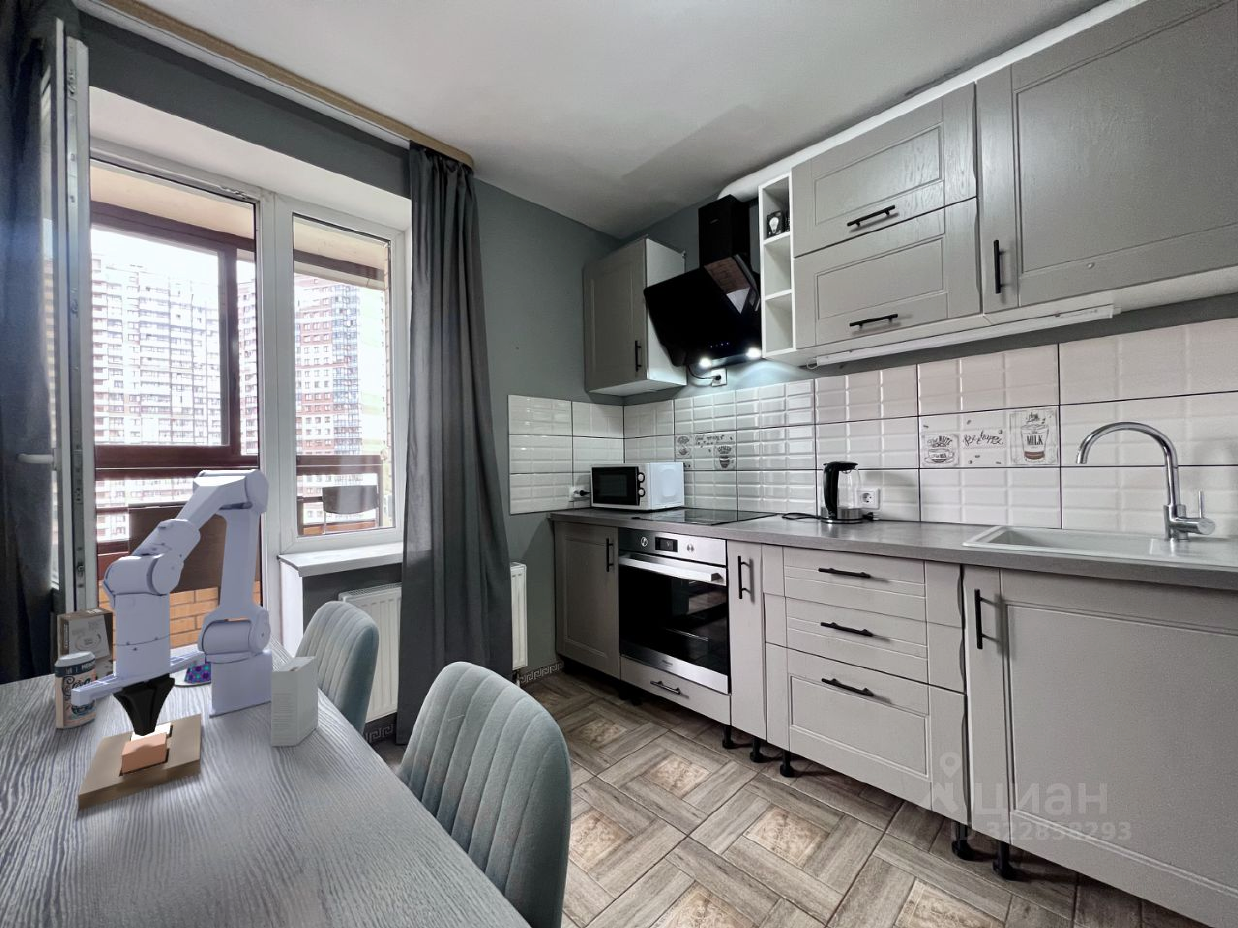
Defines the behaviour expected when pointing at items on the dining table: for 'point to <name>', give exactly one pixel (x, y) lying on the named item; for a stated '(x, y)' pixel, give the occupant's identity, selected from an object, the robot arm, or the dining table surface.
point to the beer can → (69, 676)
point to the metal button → (156, 731)
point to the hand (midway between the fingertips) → (144, 732)
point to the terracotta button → (144, 752)
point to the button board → (113, 784)
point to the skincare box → (294, 701)
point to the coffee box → (88, 637)
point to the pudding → (195, 675)
